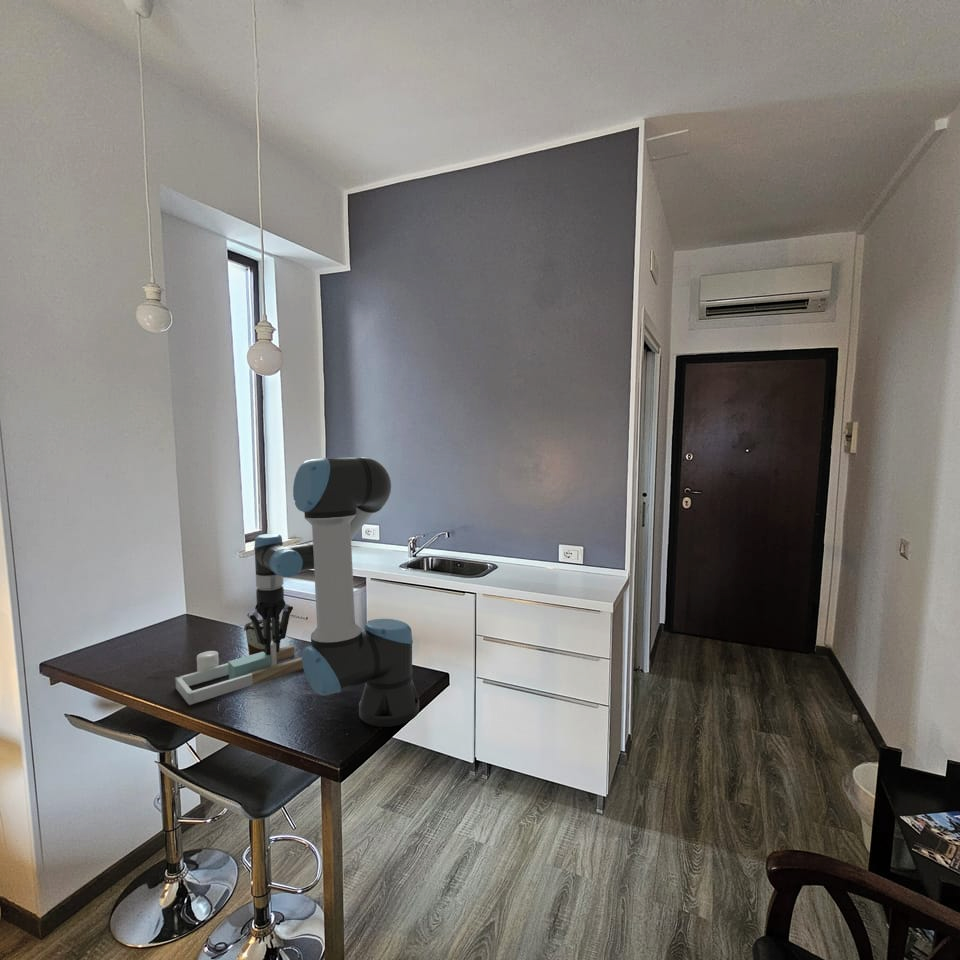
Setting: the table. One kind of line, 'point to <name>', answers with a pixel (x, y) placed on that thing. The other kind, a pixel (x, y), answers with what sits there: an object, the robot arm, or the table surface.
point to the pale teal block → (259, 661)
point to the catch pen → (211, 690)
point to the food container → (252, 639)
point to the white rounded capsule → (207, 660)
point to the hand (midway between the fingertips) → (272, 663)
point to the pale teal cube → (239, 667)
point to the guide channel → (279, 666)
